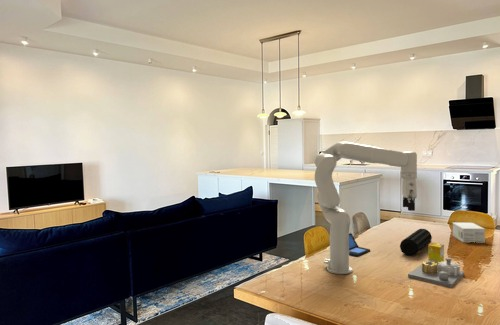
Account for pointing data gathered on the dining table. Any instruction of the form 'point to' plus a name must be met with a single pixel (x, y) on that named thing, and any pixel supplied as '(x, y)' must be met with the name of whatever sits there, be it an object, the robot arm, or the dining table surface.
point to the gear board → (434, 277)
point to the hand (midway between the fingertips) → (408, 208)
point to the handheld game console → (355, 247)
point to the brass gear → (429, 267)
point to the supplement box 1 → (436, 252)
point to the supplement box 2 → (468, 232)
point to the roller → (415, 242)
